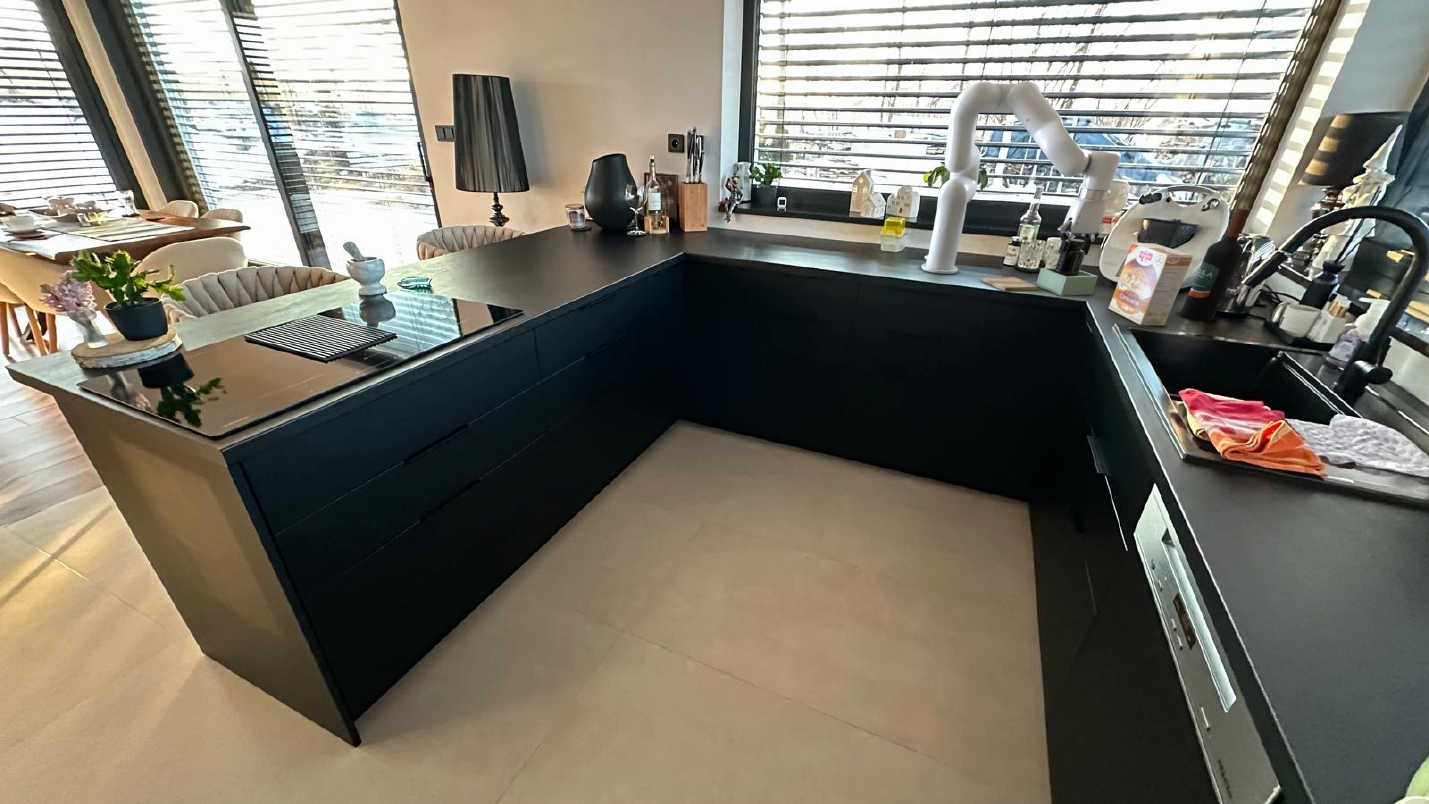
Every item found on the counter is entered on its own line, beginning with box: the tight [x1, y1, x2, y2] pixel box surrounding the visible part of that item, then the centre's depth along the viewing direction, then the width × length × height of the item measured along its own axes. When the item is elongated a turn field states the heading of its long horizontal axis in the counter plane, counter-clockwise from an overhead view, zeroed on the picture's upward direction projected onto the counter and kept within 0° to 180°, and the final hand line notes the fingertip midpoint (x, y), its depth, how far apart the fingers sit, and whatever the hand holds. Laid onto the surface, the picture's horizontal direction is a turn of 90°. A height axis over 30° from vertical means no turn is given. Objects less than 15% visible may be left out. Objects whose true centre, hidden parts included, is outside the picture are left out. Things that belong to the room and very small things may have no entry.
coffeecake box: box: [1108, 242, 1194, 327], centre depth 155 cm, size 15×7×20 cm, turn 178°
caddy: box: [1035, 267, 1099, 297], centre depth 182 cm, size 12×12×6 cm
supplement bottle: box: [1054, 238, 1086, 277], centre depth 179 cm, size 7×7×12 cm
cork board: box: [982, 276, 1039, 292], centre depth 187 cm, size 12×12×1 cm
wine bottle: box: [1179, 207, 1251, 323], centre depth 154 cm, size 8×8×30 cm
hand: (1072, 253), depth 179 cm, fingers closed on supplement bottle, 6 cm apart
